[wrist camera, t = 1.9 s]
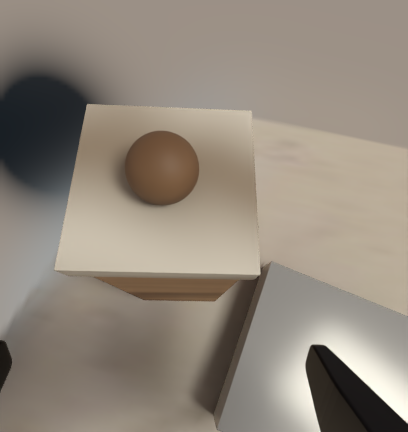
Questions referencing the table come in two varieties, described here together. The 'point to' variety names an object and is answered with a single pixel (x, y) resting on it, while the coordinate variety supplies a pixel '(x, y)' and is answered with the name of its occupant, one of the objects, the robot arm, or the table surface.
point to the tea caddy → (163, 202)
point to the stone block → (298, 350)
